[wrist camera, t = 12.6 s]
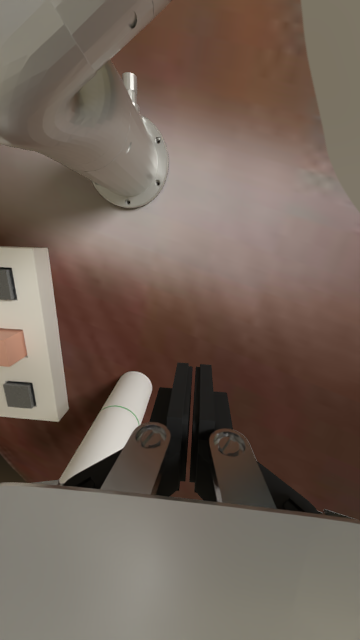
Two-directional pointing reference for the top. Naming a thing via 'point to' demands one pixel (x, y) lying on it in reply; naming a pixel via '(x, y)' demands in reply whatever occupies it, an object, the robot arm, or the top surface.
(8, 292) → the graphite button near
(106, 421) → the cylindrical container
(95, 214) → the top surface
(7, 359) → the terracotta button
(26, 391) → the graphite button far
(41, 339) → the panel
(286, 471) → the top surface
